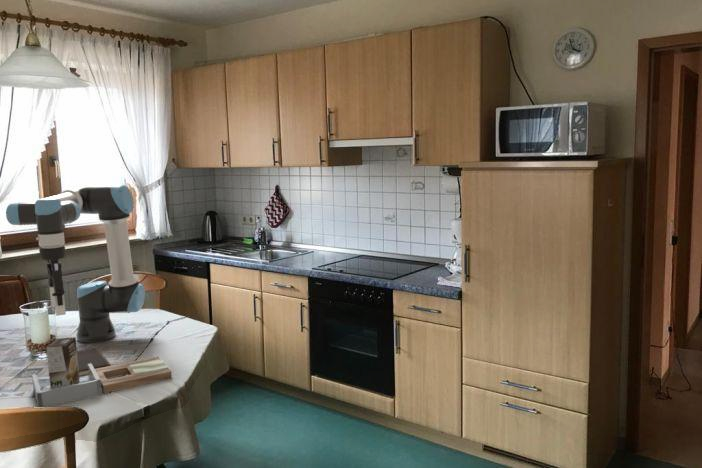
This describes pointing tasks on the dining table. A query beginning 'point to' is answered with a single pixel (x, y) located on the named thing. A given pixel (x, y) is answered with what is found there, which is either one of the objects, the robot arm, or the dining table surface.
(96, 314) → the robot arm
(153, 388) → the dining table surface
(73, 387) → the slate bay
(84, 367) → the hardcover book
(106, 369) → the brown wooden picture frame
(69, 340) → the coffee box
